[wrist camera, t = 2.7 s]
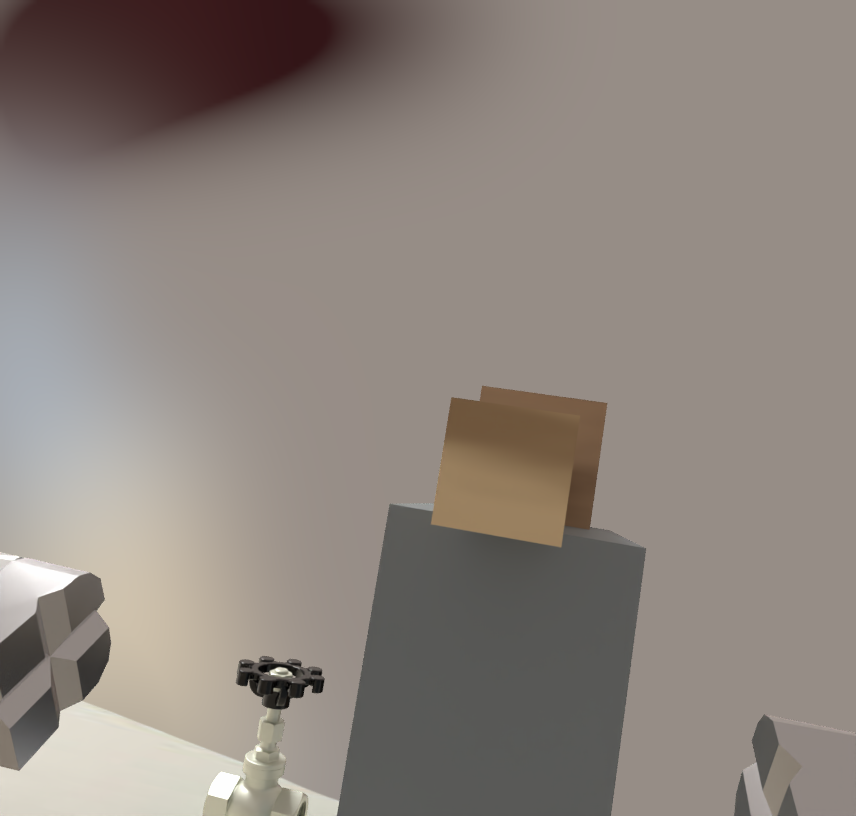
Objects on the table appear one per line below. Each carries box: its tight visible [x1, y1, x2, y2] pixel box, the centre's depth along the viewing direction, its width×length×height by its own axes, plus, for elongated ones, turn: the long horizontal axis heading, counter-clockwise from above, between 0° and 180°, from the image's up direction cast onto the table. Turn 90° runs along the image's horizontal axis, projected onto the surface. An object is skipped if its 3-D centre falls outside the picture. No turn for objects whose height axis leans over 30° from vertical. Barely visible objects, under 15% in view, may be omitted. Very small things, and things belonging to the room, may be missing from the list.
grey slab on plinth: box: [337, 504, 646, 816], centre depth 35 cm, size 20×12×26 cm, turn 170°
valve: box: [203, 656, 325, 816], centre depth 52 cm, size 7×7×12 cm
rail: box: [431, 386, 607, 547], centre depth 33 cm, size 28×7×7 cm, turn 170°
